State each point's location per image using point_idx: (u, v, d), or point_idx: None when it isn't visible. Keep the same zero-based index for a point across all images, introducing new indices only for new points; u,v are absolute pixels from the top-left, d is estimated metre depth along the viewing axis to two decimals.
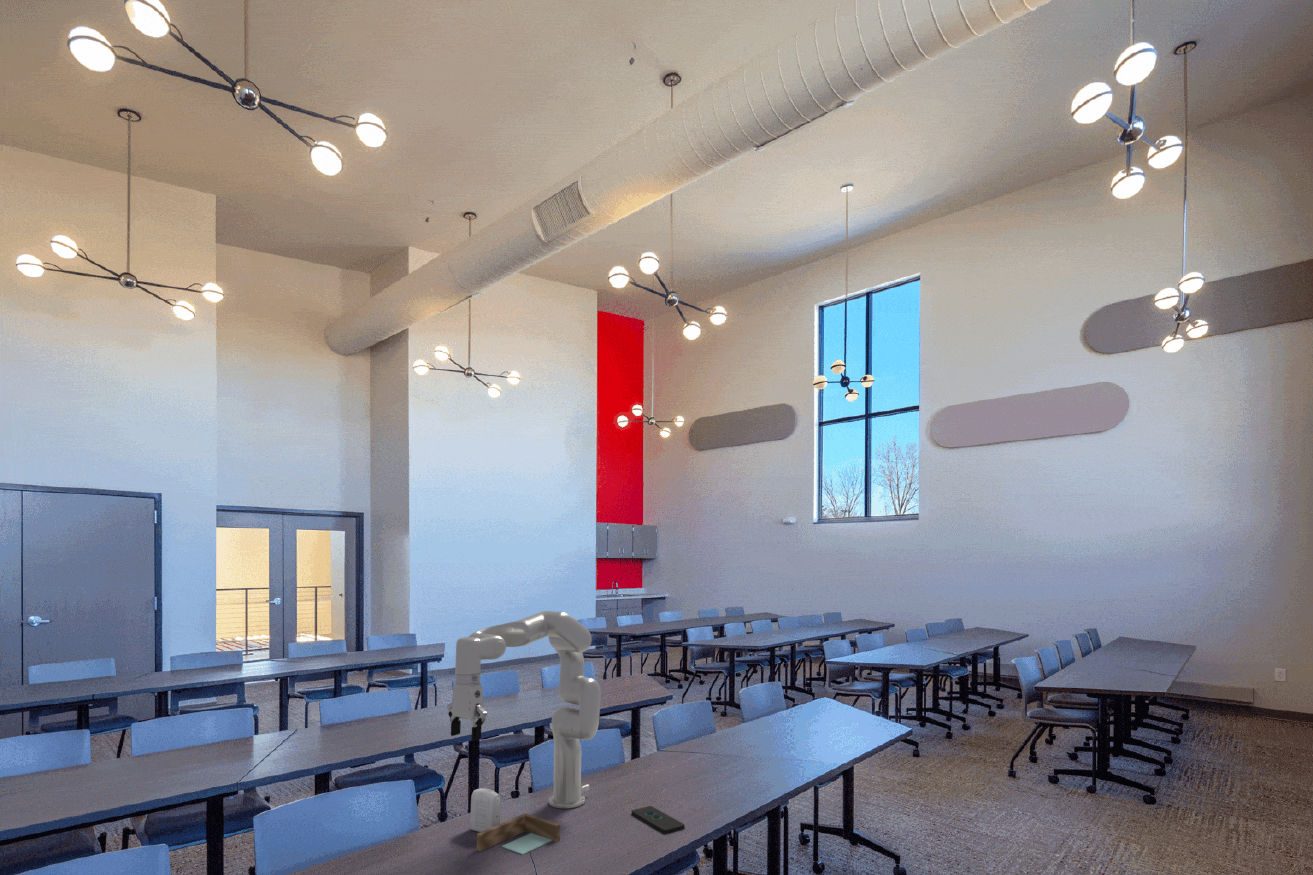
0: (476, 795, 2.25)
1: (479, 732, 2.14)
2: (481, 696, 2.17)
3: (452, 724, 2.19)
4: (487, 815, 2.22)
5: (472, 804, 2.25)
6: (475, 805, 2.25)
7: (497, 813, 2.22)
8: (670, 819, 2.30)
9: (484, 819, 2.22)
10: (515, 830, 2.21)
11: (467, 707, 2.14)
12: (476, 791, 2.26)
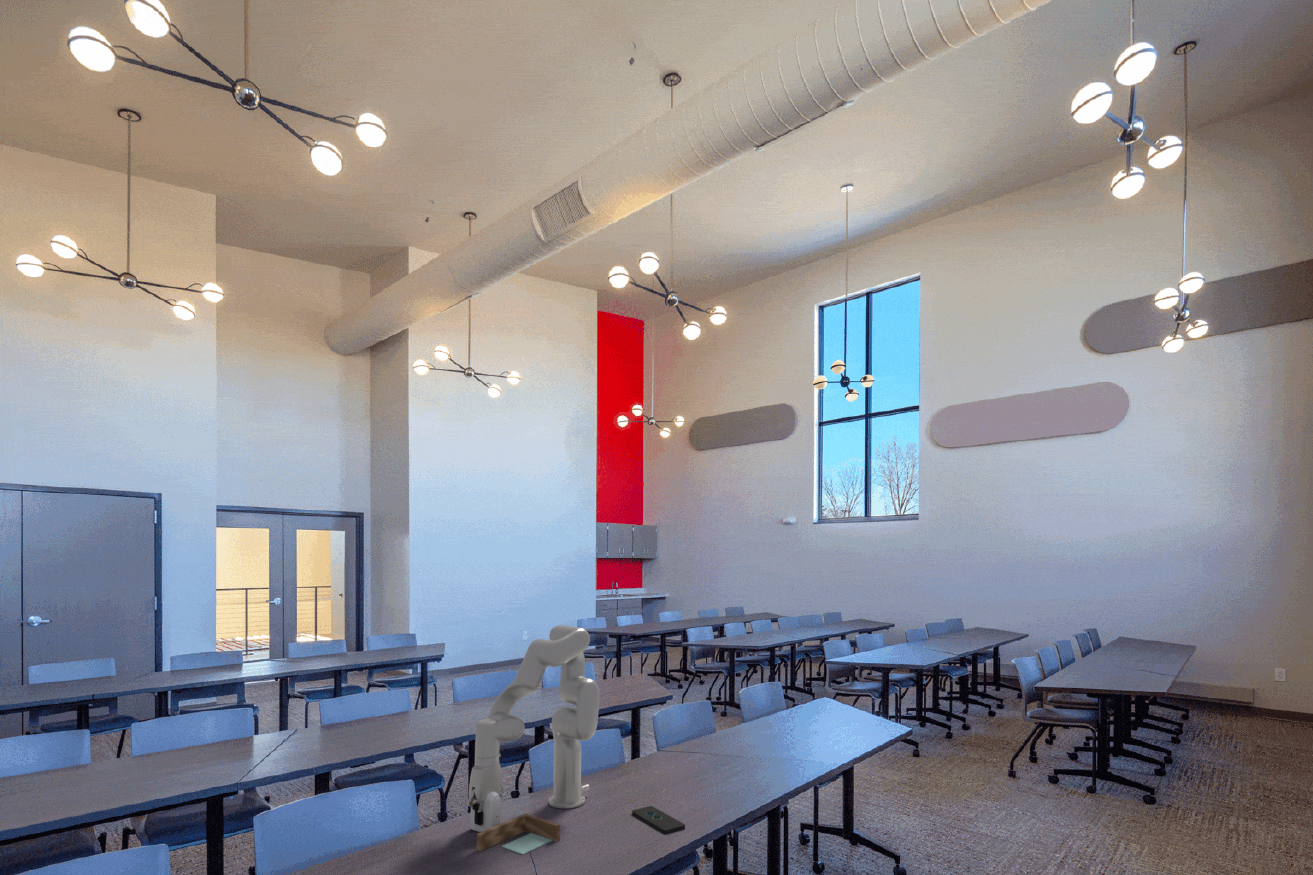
0: None
1: None
2: None
3: (482, 813, 2.22)
4: (487, 815, 2.22)
5: None
6: None
7: (497, 813, 2.22)
8: (670, 819, 2.30)
9: (484, 819, 2.22)
10: (515, 830, 2.21)
11: (498, 784, 2.27)
12: None
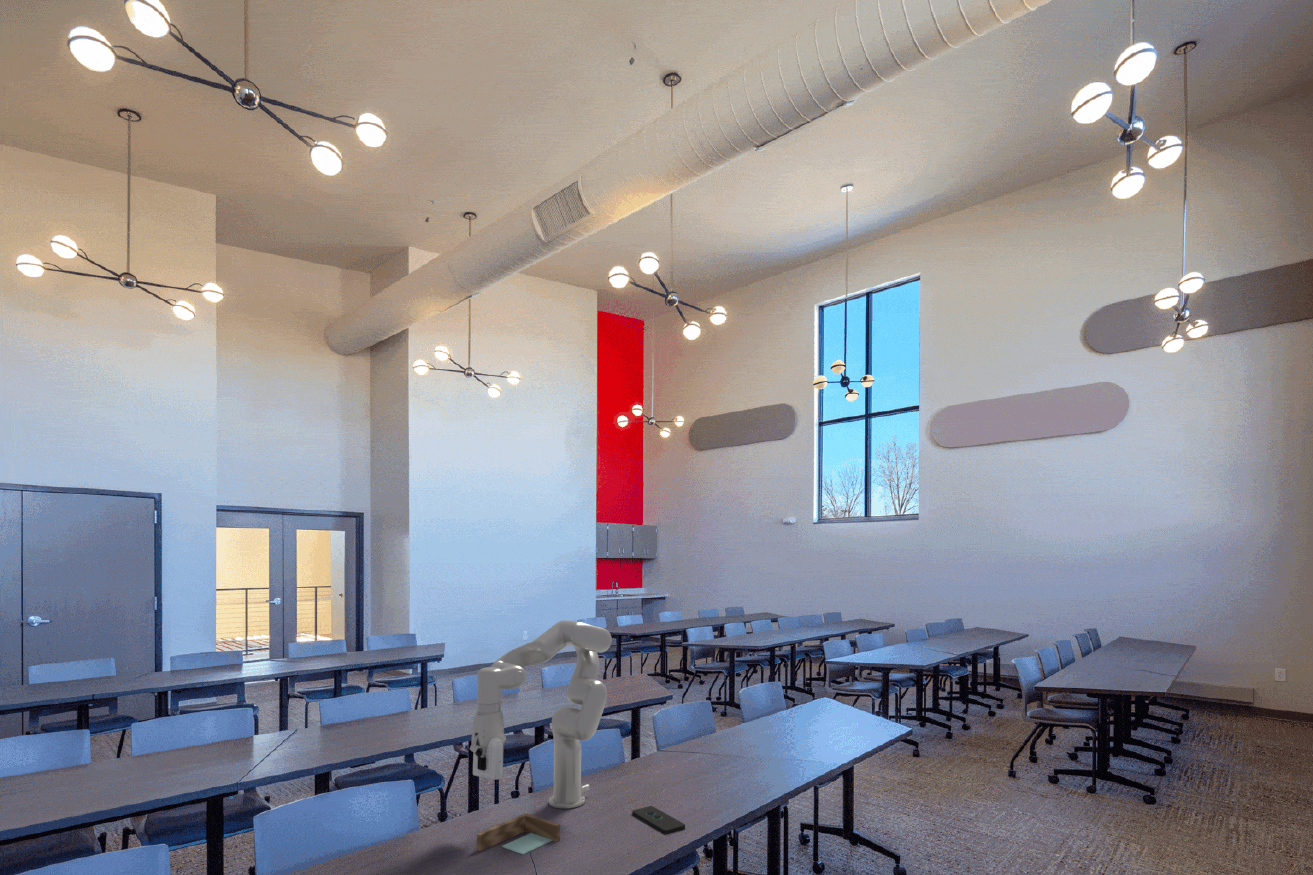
0: None
1: None
2: None
3: (485, 759, 2.24)
4: (490, 760, 2.24)
5: None
6: None
7: (500, 758, 2.25)
8: (671, 819, 2.30)
9: (487, 764, 2.24)
10: (515, 830, 2.21)
11: (500, 731, 2.30)
12: None
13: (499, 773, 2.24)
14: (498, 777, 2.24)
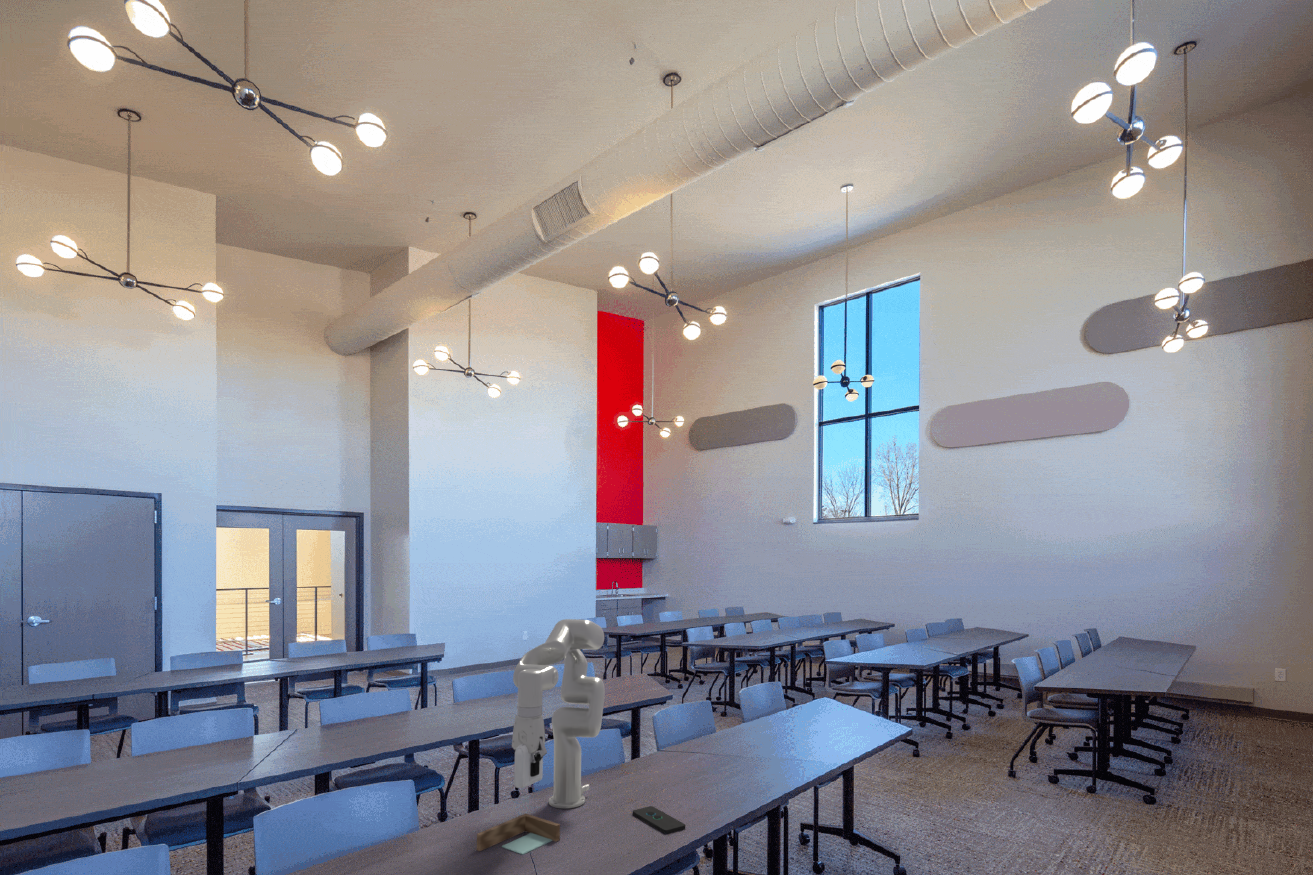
0: None
1: None
2: None
3: None
4: None
5: (525, 760, 2.14)
6: (528, 760, 2.15)
7: None
8: (671, 819, 2.30)
9: None
10: (515, 830, 2.21)
11: None
12: None
13: None
14: None
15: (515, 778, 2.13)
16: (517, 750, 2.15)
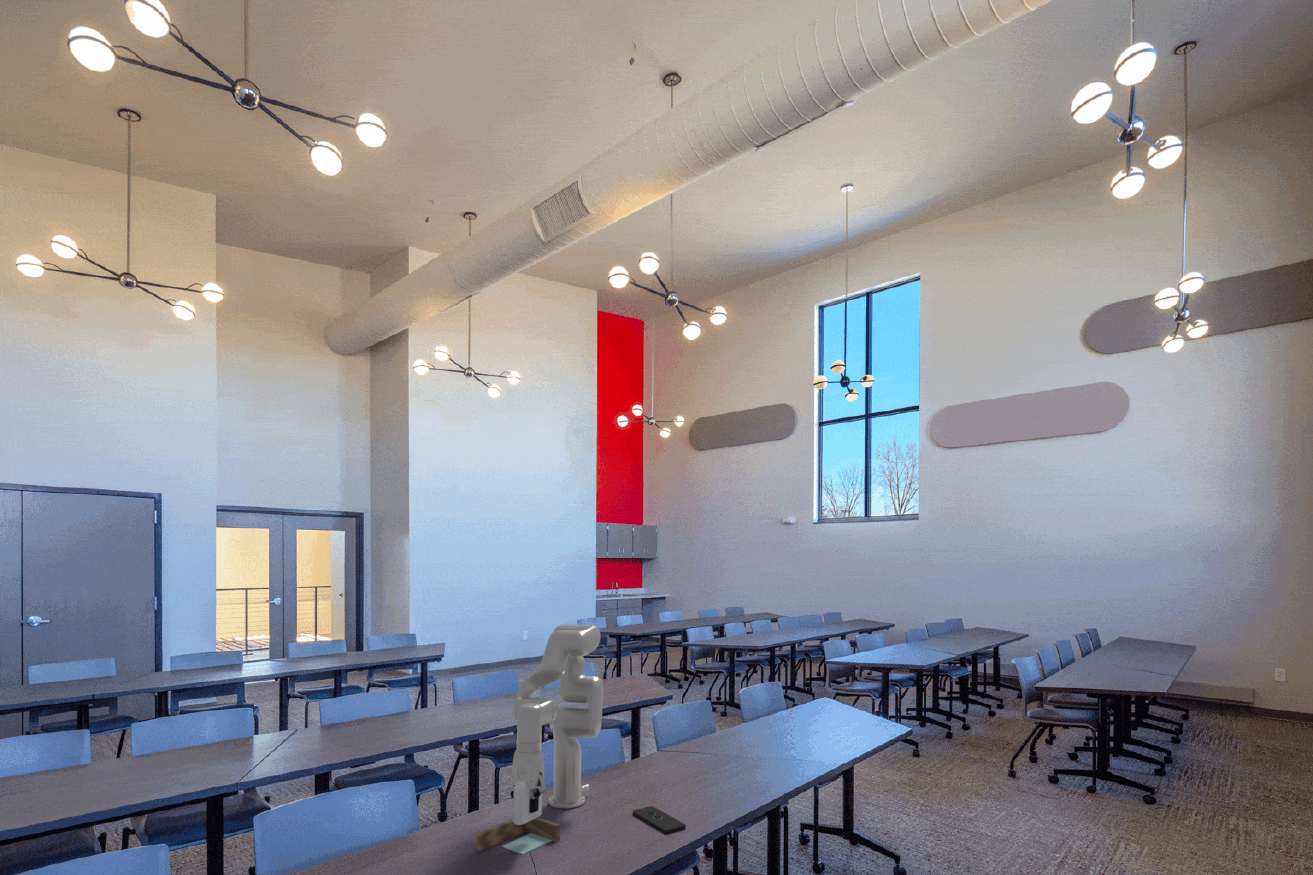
0: None
1: None
2: None
3: None
4: None
5: (524, 796, 2.12)
6: (527, 796, 2.13)
7: None
8: (671, 819, 2.30)
9: None
10: (515, 830, 2.21)
11: None
12: None
13: None
14: None
15: (514, 815, 2.12)
16: (516, 786, 2.13)
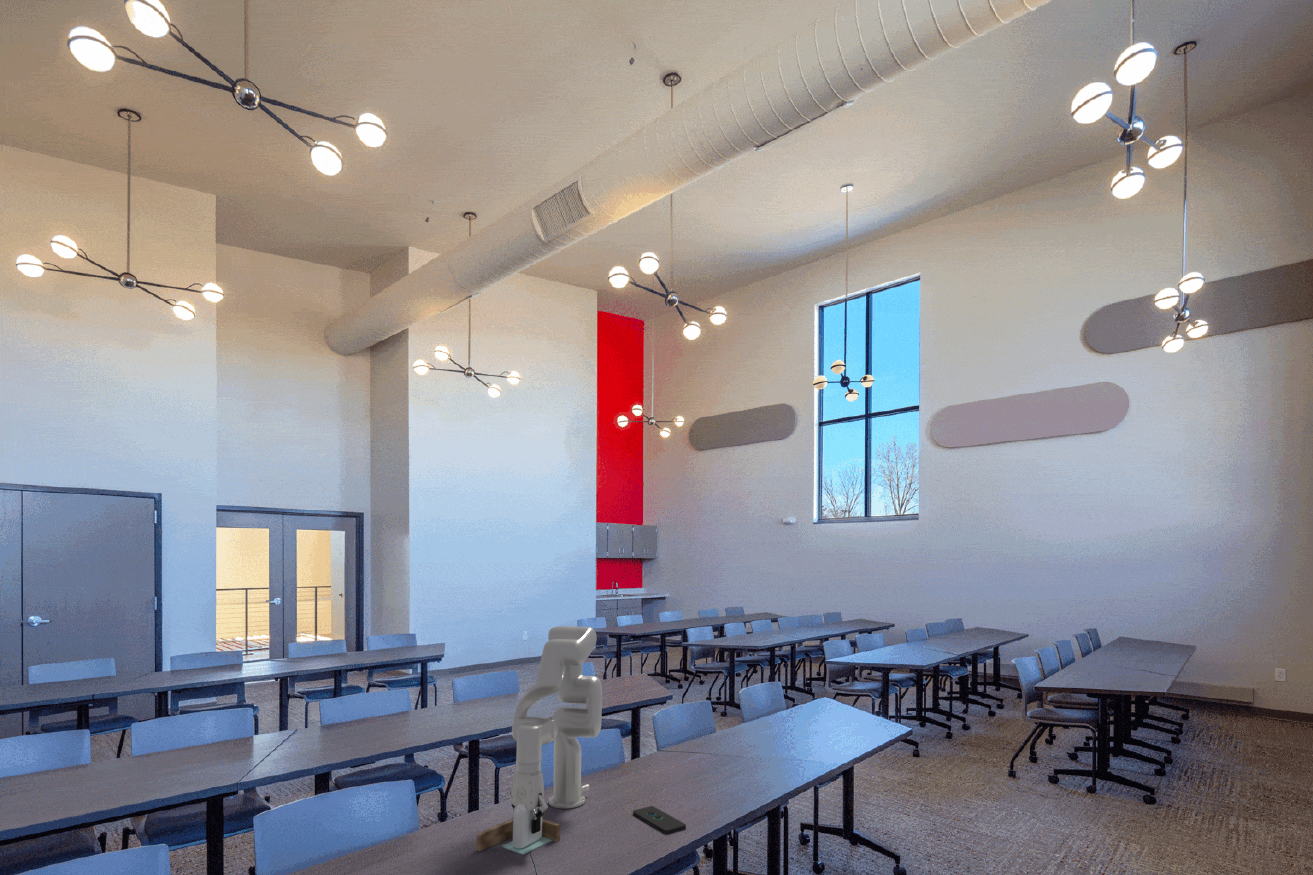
0: None
1: None
2: None
3: None
4: None
5: (524, 820, 2.11)
6: (527, 819, 2.12)
7: None
8: (671, 819, 2.30)
9: None
10: None
11: None
12: None
13: None
14: None
15: (514, 838, 2.11)
16: (516, 809, 2.13)
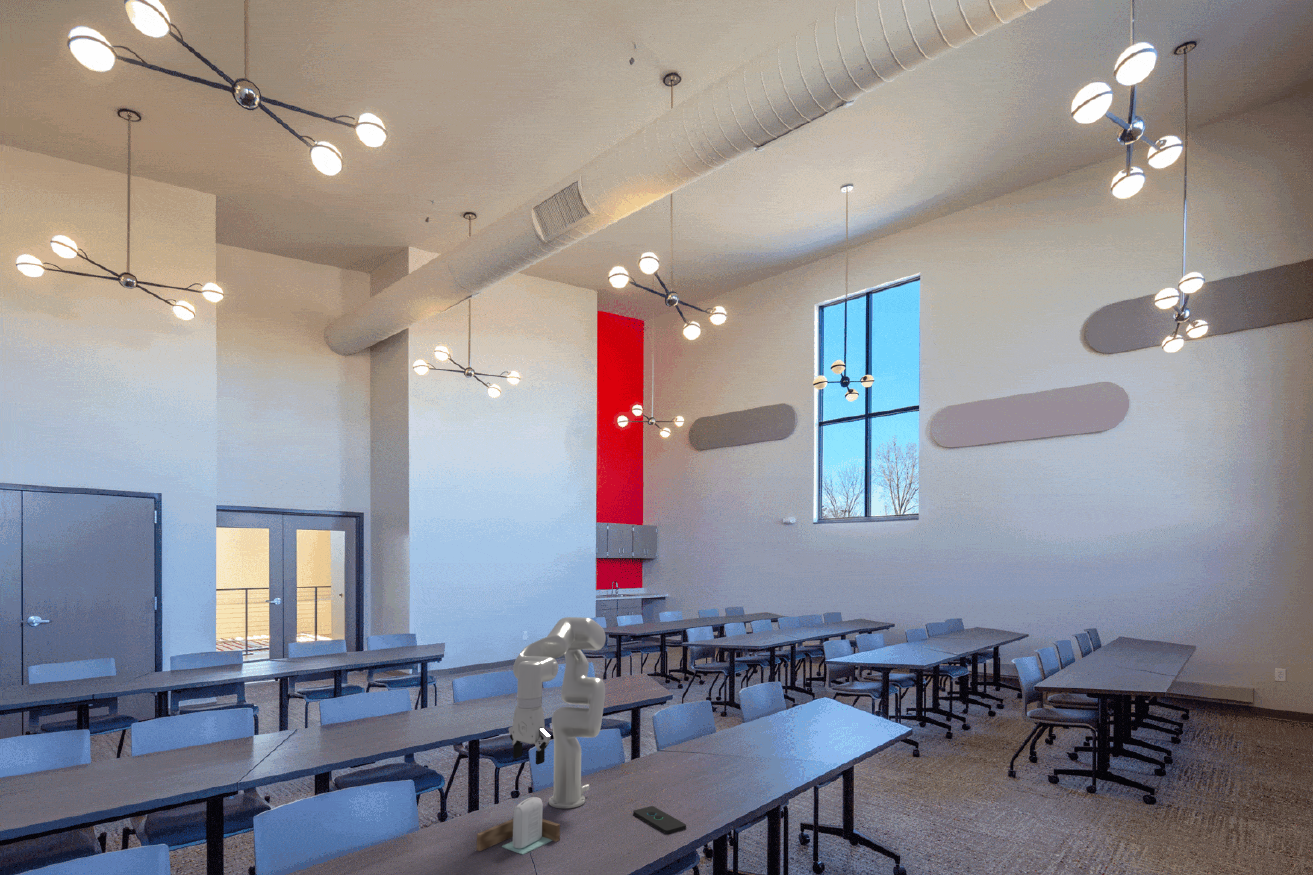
0: (528, 808, 2.13)
1: None
2: None
3: None
4: (539, 820, 2.17)
5: (524, 820, 2.11)
6: (527, 819, 2.12)
7: None
8: (672, 819, 2.30)
9: (536, 826, 2.15)
10: None
11: None
12: (524, 805, 2.13)
13: None
14: None
15: (514, 838, 2.11)
16: (516, 809, 2.13)
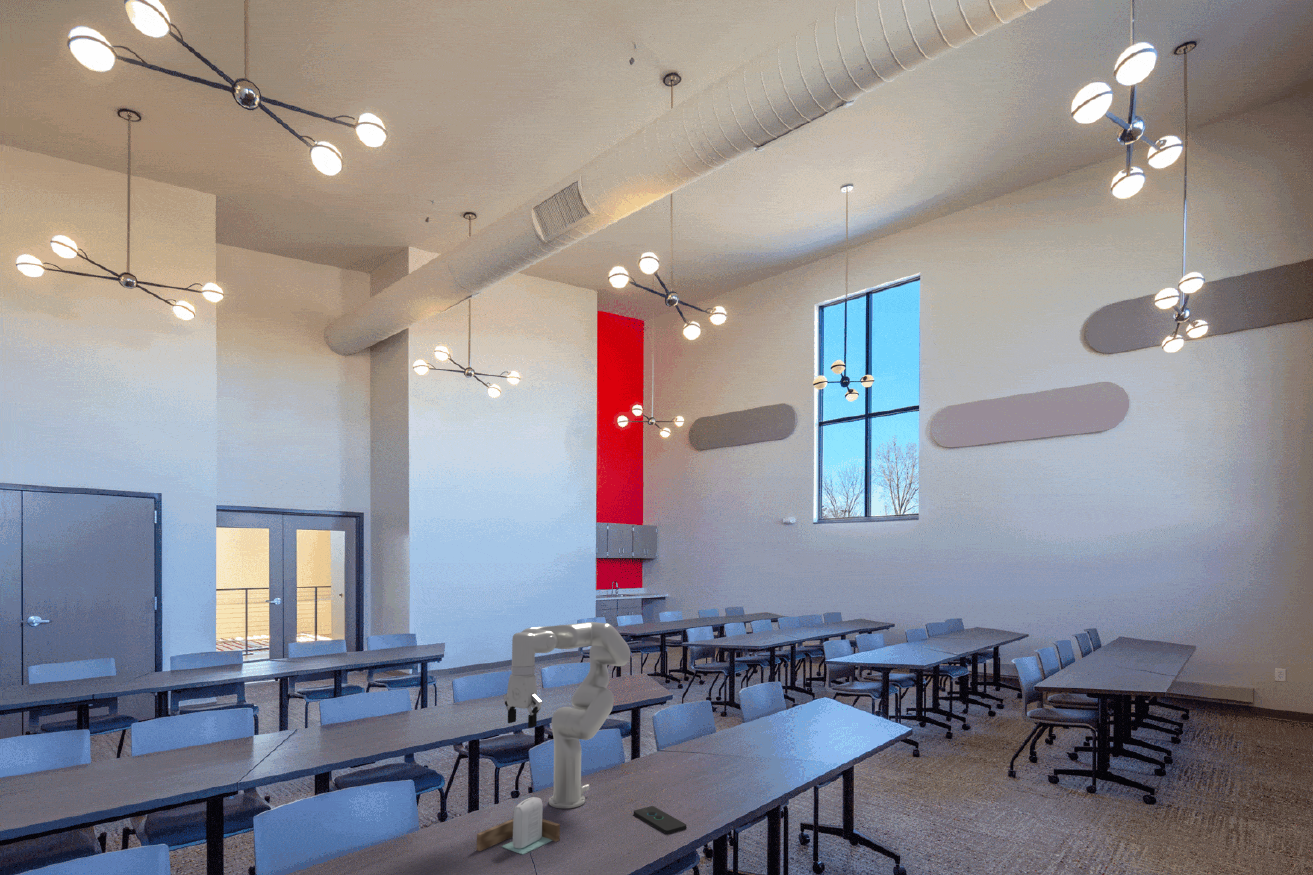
0: (528, 808, 2.13)
1: None
2: None
3: None
4: (539, 820, 2.17)
5: (524, 820, 2.11)
6: (527, 819, 2.12)
7: None
8: (672, 819, 2.30)
9: (536, 826, 2.15)
10: None
11: None
12: (524, 805, 2.13)
13: None
14: None
15: (514, 838, 2.11)
16: (516, 809, 2.13)
